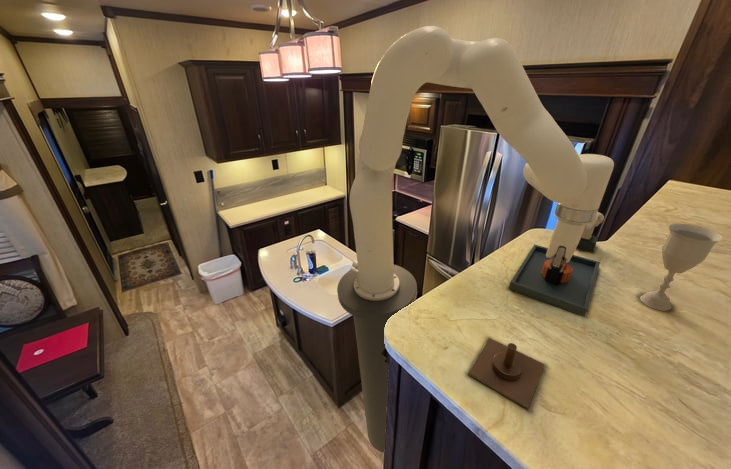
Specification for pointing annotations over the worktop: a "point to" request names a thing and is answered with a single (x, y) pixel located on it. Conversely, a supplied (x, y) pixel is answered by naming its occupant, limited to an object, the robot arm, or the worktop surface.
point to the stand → (507, 371)
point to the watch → (590, 235)
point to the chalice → (680, 258)
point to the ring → (566, 269)
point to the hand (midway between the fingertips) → (554, 275)
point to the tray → (565, 294)
